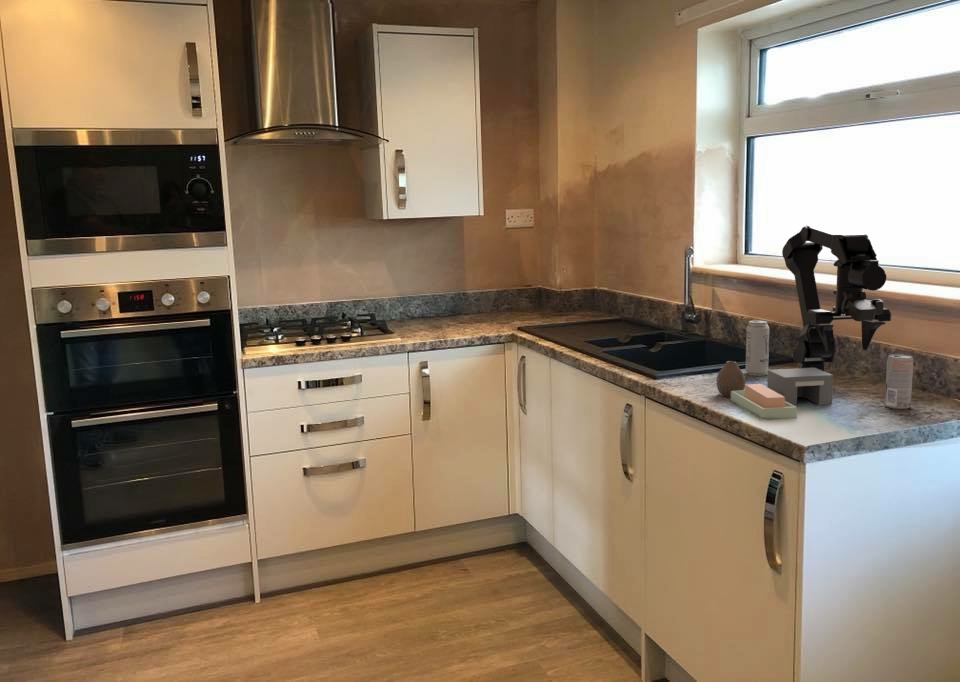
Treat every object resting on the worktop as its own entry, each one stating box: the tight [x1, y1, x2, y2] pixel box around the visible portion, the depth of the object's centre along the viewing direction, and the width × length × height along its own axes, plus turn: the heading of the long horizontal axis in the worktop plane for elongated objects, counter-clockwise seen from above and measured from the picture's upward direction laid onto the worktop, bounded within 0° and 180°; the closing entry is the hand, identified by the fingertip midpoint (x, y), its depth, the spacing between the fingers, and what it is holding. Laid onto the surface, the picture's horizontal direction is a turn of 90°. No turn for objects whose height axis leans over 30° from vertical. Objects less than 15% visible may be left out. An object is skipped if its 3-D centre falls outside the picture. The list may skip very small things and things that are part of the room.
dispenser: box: [766, 367, 834, 407], centre depth 195 cm, size 10×12×7 cm
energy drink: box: [884, 353, 914, 410], centre depth 187 cm, size 5×5×12 cm
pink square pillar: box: [744, 383, 785, 408], centre depth 188 cm, size 14×4×4 cm, turn 2°
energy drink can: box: [745, 319, 770, 377], centre depth 226 cm, size 6×6×15 cm
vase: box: [716, 360, 746, 398], centre depth 202 cm, size 7×7×9 cm
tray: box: [730, 389, 798, 420], centre depth 189 cm, size 18×8×2 cm, turn 5°
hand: (846, 350), depth 194 cm, fingers open, 9 cm apart
